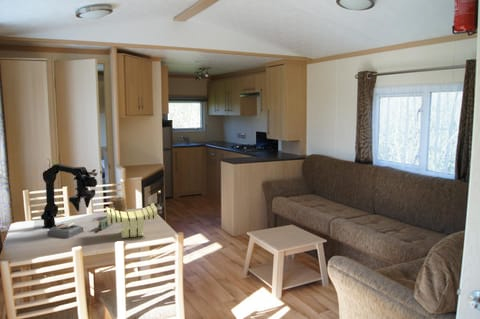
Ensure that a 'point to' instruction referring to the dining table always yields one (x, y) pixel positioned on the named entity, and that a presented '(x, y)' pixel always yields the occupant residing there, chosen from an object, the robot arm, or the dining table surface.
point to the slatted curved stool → (132, 220)
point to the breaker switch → (65, 225)
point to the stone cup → (120, 205)
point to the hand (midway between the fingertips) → (82, 209)
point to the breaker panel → (65, 231)
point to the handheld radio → (104, 224)
